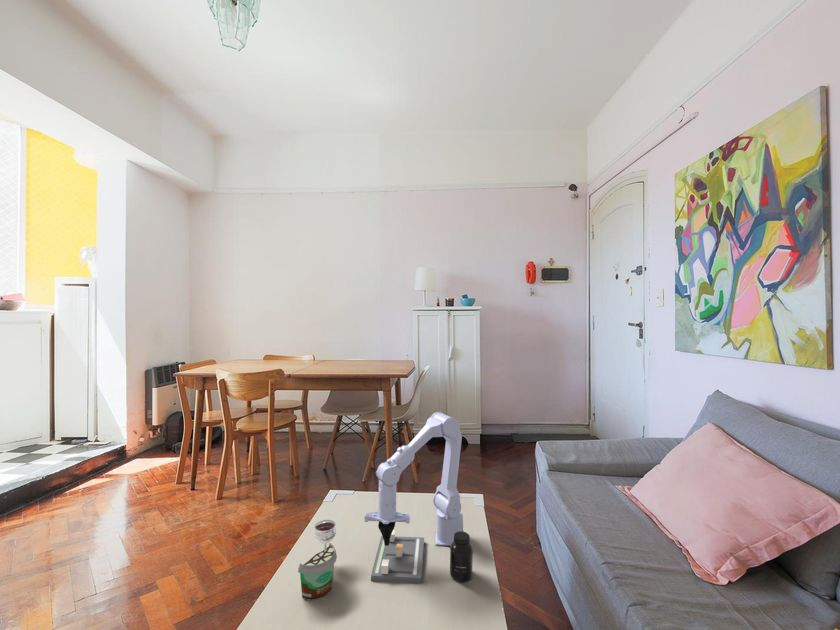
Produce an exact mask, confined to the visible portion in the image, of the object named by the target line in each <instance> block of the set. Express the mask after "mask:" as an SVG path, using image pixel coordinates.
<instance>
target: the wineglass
mask: <svg viewBox="0 0 840 630" xmlns="http://www.w3.org/2000/svg"><path fill="white" fill-rule="evenodd" d="M336 524H337V523H336V521H334V520H332V519H324V520H319V521H317V522H316V523H315V525H314V527H313V528H314V532H313V535H314V539H315V540H316V542H318V543H319V544H323V550H325V549H326V548H327V544H329V543H331V541H332V540H333V539H334V538H335V536H336V534H337V528H336Z"/></svg>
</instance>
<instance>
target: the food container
mask: <svg viewBox="0 0 840 630" xmlns="http://www.w3.org/2000/svg"><path fill="white" fill-rule="evenodd" d="M337 555H338V554H337V551H336V548H335V547H334V545H333V544H332V543H331V542H328V546H326V549H325V550H324V549H323V550H322V551H319V552H318V553H316V554H314V555H313V556H312V557H311V558H310V559H309V560H307V561H306V562H305V563H303V564H302V563H299V566H298V570H297V573H299V576H300V577H299V579H300V585H301V586H300V588H301V598H303V599H304V598H305V600H308V599H309V601H313V600H314V601H315V600H318V599H322V598H323V597H325V596H327V595H328V594H329V593H330V592H331V591H332V589H333V580H334V578H333V577H334V569H335V567H334V566H335V563H336V562H337V559H338V556H337Z"/></svg>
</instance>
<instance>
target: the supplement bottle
mask: <svg viewBox="0 0 840 630" xmlns="http://www.w3.org/2000/svg"><path fill="white" fill-rule="evenodd" d="M470 539H471V538H470V534H469V533H467V532H466V531H464V532H462V531H459V532H456V533H455V534H454V542H452V544H451V546H450V549H449V552H450V554H449V558H450V559H449V574H450V577H451V578H452V579H453V580H454V581H456V582H458V583H466V582H469V581H470V580H471V579H472V577H473V561H474V560H473V559H474V555H473V554H474V549H473V545H472V544H471V540H470Z"/></svg>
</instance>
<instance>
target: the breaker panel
mask: <svg viewBox="0 0 840 630" xmlns="http://www.w3.org/2000/svg"><path fill="white" fill-rule="evenodd" d="M397 544H403V555H402V557H396V547H397ZM424 546H425V537H418V536H417V537H416V536H413V537H412V536H395V541H394V542H390V543H389V546H385V545H384V539H383V536H382V535H381V536H380V540H379V543H378V548H377V551H376V555H375V559H374V563H373V566H372V569H371V574H370V581H371V582H391V583H392V582H393V583H416V584H417V583H418V584H419V583H420V584H421V583H422V578H423V564H424V562H423V561H424ZM383 559H389V571H388V574H381V565H382V560H383Z"/></svg>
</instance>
